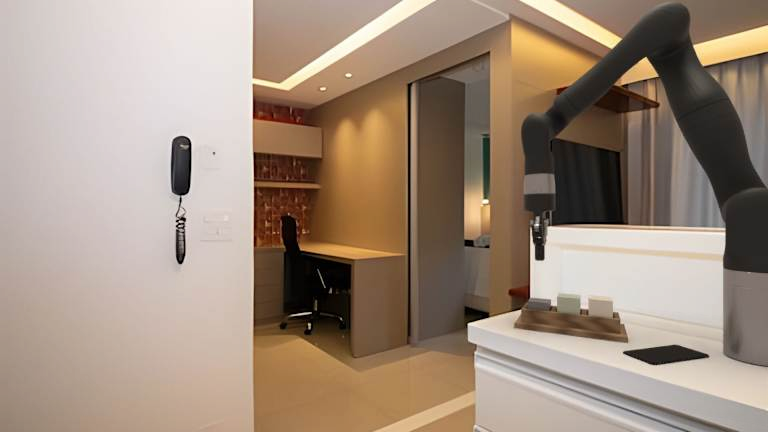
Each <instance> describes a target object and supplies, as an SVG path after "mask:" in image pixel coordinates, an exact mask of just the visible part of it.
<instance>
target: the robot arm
mask: <svg viewBox="0 0 768 432" xmlns="http://www.w3.org/2000/svg"><path fill="white" fill-rule="evenodd" d="M690 14H691V13H690V11H689V9H688V7H687V6H686V5H684V4H683V3H681V2H679V1H678V2H677V1H667V2H666V1H665V2H662V3H660V4H657V5H655V6H654V7H652V8H651V9H650V10H649V11H647V12H646V13H645V14H644V15H643V16H642V17H641V18H640V19H639V20H638V22H636V24H634V26H633V27H632V28H631V29H630V30H629V31H628V32H627V33H626V34H625V36H624V37H622V39H620V40H619V41H618V42H617V44H616V45H615V46H613V47H612V48H611V50H610V51H608V52H607V53H606V54H605V55H604V56H603V57H602V58H601V59H600V60H599V61H598V62H597V63H596V64H594V65H593V66H591V68H590V69H589V70H587V71H586V72H585V73H584V74H583V75H582V76H580V77H579V78H578V79H576V80H575V81H574V82H573V83H572V84H570V85H569V86H568V87H567V88H566V89H564V90H563V91H562V92H560V93H559V94H558V95H557V96H556V97H555V98H554V100H553V103H552V105H551V107H549V108H548V109H547V110H546V111H545V112H544V113H542V112H532V113H530V114H528V115H527V116H526V117H525V118H524V120H523V121H522V123H521V127H520V128H521V129H520V137H521V143H522V144H521V145H522V151H523V155H524V179H523V180H524V181H523V211H524V212H532V218H530V228H531V229H530V230H531V236H532V244H533V246H534V260H535V261H541V262H543V261H545V259H546V257H545V255H546V252H545V251H546V247H545V246H546V243H547V236H548V226H549V221H550V220H549V218H546V212H554V211H556V181H555V161H554V160H555V159H554V155H553V153H552V151H551V150H552V149H551V141H552V140H554V139H555V138H557V136H559V134H561V132H563V131H564V130H565V129H566V128H567V127H568V125H570V123H571V122H572V121H573V120H575V119H576V118H577V117H578V116H580V115H581V114H583V113H584V112H585V111H587V110H588V109H590V107H591V106H593V105H594V104H596V103H597V102H598V101H599V100H600V99H601V98H603V97H604V96H605V95H606V94H607V92H609V90H611V89H612V88H613V86H614V85H615V84H616V83H617V82H618V81H619V80H620V79H621V78H622V77H623V76H624V75H625V74H626V73H628V71H629V70H630V69H632V68H633V67H634V66H636V65H637V64H638V63H639V62H641V61H642V60H644V59H645V58H646V59H647V60H648V62H649V64H650V65H651V66H652V68H653V70H654V71H655V73H656V75H657V76H658V77H659V80H660V81H661V83H662V85H663V89H664V92H665V96H666V99H667V101H668V102H667V103H668V105H669V107H670V109H671V112H672V114H673V117H674V119H675V121H676V124H677V126H678V127H679V130H680V132H681V134H682V136H683V138H684V139H685V141H686V143H687V145H688V146H689V149H690V150H691V153H693V155H694V157H695V159H696V160H697V162H698V163H699V165H700V166H701V168H702V170H703V171H704V172H705V174H706V176H707V179H708V180H709V183H710V185H711V188H712V190H713V193H714V196H715V199H716V202H717V205H718V208H719V212H720V216H721V219H722V221H723V223H724V224H725V229H724V232H725V237H724V238H725V239H724V242H725V243H724V252H723V255H722V332H723V333H722V352H723V354H724V355H725V356H728V357H729V358H732V359H734V360H736V361H737V360H738V361H741V362H745V363H749V364H753V365H759V366H766V367H768V187H767V186H766V184H765V183H764V182H763V180H762V179H761V176H760V175H759V173H758V172H757V169H755V166H754V165H753V162H752V160H751V155H750V152H749V147H748V143H747V138H746V134H745V130H744V127H743V123H742V121H741V118H740V115H739V114H738V111H737V110H736V108H735V106H734V103H733V102H732V100H731V98H730V97H729V95H728V93H727V92H726V90H725V88H724V87H722V85H721V83H719V82H718V81H717V79H716V78H715V77H713V76H712V74H711V73H710V72H709V71H708V70H707V69H706V68H705V67H704V65H703V64H702V63H701V60H700V59H699V57H698V54H697V52H696V49H695V47H694V45H693V42H692V39H691V38H692V37H691V34H690V28H691V27H690V26H691V15H690Z"/></svg>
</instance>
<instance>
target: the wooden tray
mask: <svg viewBox="0 0 768 432" xmlns="http://www.w3.org/2000/svg"><path fill="white" fill-rule="evenodd" d="M513 325H514V327H513V328H515V329H519V330H520V329H521V330H528V331H535V332H541V333H542V332H544V333H552V334H559V335H563V336H564V335H565V336H574V337H580V338H588V339H595V340H604V341H611V342H619V343H625V344H628V343H629V337H628V333H627V329H626V327H625V326H626V325H625V323H621V316H620V313H619V311H617V312H616V311H613V318H607V317H598V316H589V315H588V308H581V314H571V313H561V312H557V305H551V311H543V310H534V309H528V302H525V304H524V305H523V306H521V309H520V315H519V316H518V317H517V319H516V320H515V322H514V323H513Z"/></svg>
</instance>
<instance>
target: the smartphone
mask: <svg viewBox="0 0 768 432" xmlns="http://www.w3.org/2000/svg"><path fill="white" fill-rule="evenodd" d="M622 354H623V355H624V356H627V357H630V358H632V359H636V360H638V361H641V362H643V363H646V364H648V365H650V366H662V365H668V364H675V363H680V362H681V363H682V362H688V361H695V360H703V359H708V358H710V355H709V354H708V353H705V352H702V351H700V350H696V349H692V348H689V347H687V346H682V345H679V344H670V345H668V344H667V345H662V346H661V345H660V346H653V347H645V348H638V349H637V348H636V349H630V350H624V351H622Z"/></svg>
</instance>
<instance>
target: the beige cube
mask: <svg viewBox="0 0 768 432" xmlns="http://www.w3.org/2000/svg"><path fill="white" fill-rule="evenodd" d="M587 300H588V306H587V307H588V308H587V309H588V315H589V316H598V317H607V318H613V312H614V299H613V297H611V296H604V295H603V296H602V295H590V294H589V295H588V298H587Z"/></svg>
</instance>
